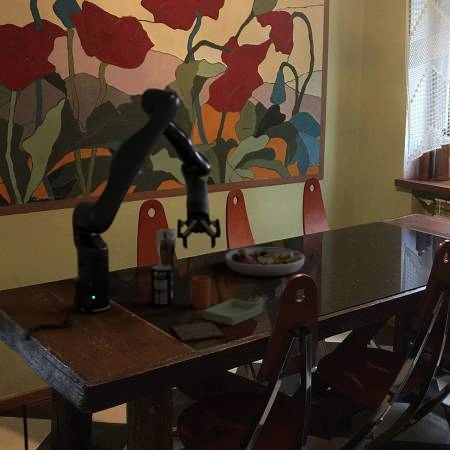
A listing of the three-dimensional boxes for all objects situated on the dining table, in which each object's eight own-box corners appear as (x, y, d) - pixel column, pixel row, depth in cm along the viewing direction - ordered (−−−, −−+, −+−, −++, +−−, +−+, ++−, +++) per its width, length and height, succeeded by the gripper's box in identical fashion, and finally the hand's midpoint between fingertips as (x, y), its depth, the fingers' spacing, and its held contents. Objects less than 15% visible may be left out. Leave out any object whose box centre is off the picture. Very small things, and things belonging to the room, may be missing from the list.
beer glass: (179, 269, 269) (179, 230, 266) (167, 273, 264) (166, 233, 261) (166, 266, 273) (165, 227, 270) (153, 270, 267) (152, 230, 264)
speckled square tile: (171, 327, 206) (170, 324, 205) (211, 323, 210) (211, 320, 210) (181, 341, 195) (181, 338, 195) (224, 336, 200) (224, 333, 199)
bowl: (258, 255, 294) (258, 236, 293) (319, 267, 278) (320, 247, 276) (208, 269, 270) (208, 249, 269) (272, 283, 254) (272, 262, 252)
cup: (202, 309, 223) (202, 281, 222) (188, 306, 226) (188, 278, 224) (213, 305, 228) (213, 277, 226) (200, 301, 231) (200, 274, 229)
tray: (232, 326, 209) (232, 317, 208) (202, 318, 215) (202, 310, 214) (262, 312, 222) (262, 304, 221) (233, 306, 227) (233, 298, 227)
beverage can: (164, 299, 232) (164, 263, 230) (176, 304, 228) (176, 267, 225) (147, 303, 228) (146, 266, 225) (159, 308, 223) (158, 270, 221)
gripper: (176, 200, 239) (177, 241, 230) (219, 200, 241) (222, 240, 233) (176, 213, 245) (177, 253, 236) (218, 212, 248) (220, 253, 239)
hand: (199, 247), depth 234 cm, fingers open, 8 cm apart
